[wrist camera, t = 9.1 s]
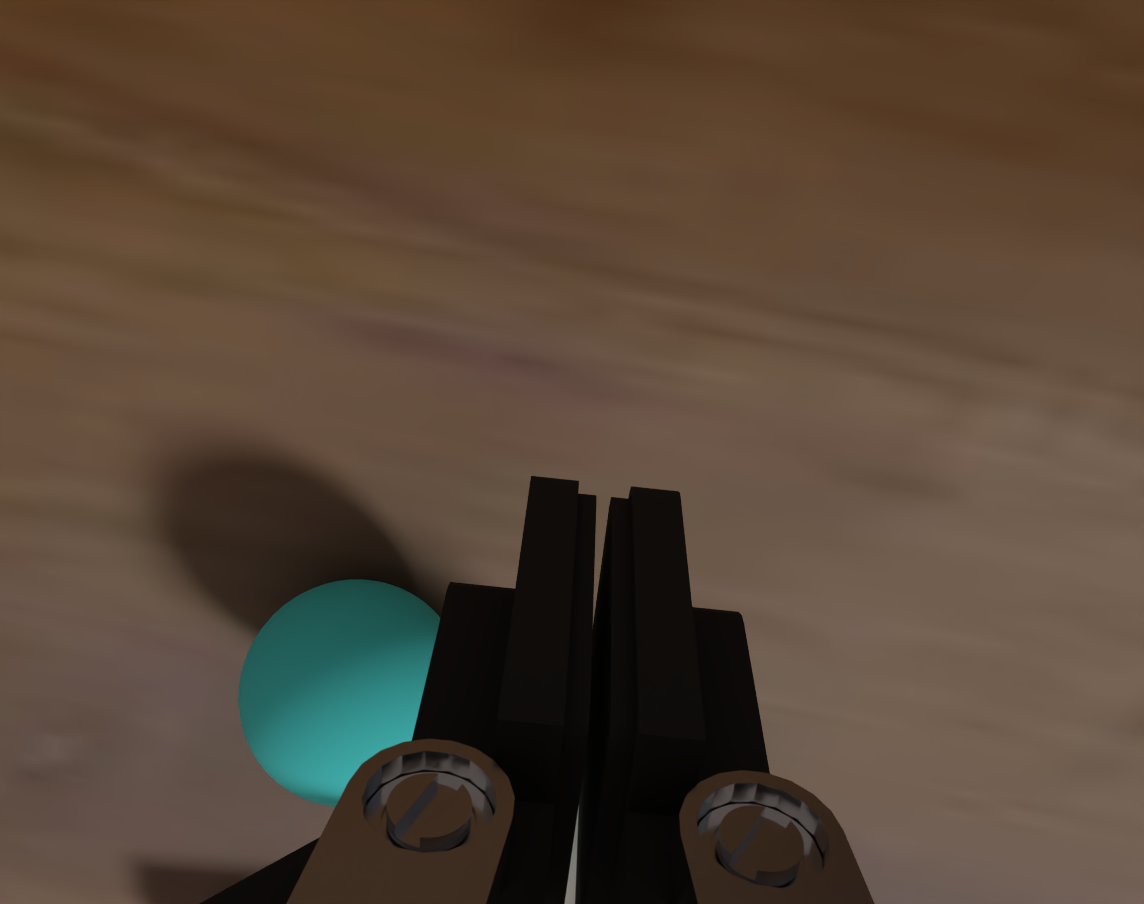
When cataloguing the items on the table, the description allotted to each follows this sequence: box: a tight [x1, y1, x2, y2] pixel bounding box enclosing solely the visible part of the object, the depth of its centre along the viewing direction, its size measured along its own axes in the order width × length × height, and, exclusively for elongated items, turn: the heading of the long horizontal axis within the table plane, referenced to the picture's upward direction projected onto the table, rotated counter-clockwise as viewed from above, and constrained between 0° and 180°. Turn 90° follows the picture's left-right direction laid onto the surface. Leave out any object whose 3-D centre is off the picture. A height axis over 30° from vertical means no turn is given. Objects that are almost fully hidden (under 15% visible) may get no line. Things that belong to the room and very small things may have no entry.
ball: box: [238, 579, 440, 807], centre depth 29 cm, size 6×6×6 cm
